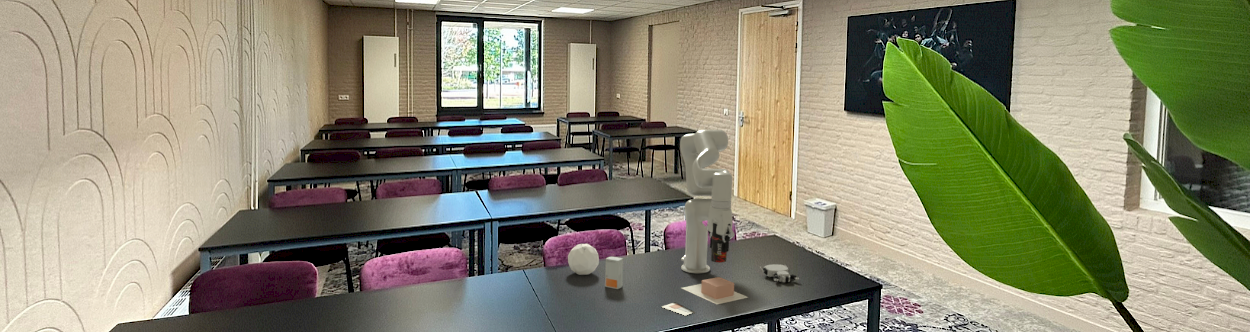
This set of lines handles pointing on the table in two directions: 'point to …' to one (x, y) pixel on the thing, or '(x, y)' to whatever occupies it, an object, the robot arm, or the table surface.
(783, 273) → the robot toy
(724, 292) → the brick
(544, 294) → the table surface
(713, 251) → the deodorant
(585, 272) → the geodesic sphere
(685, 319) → the table surface
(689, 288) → the plate
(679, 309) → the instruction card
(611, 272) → the skincare box
